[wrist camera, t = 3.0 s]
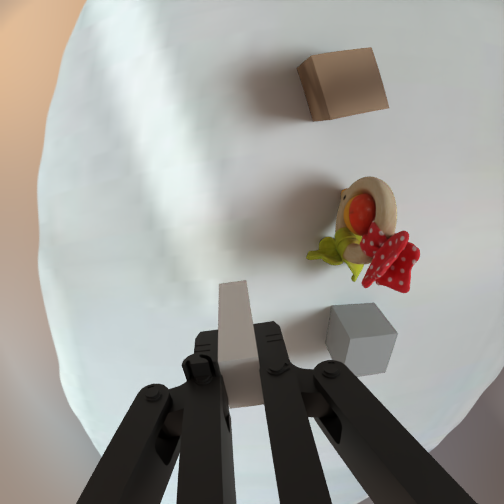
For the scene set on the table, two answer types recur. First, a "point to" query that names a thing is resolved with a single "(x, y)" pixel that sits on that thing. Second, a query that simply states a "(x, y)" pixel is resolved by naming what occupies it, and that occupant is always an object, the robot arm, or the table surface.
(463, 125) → the table surface
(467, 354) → the table surface
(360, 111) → the walnut block
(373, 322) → the grey block
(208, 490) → the robot arm
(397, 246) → the bird rattle
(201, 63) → the table surface
